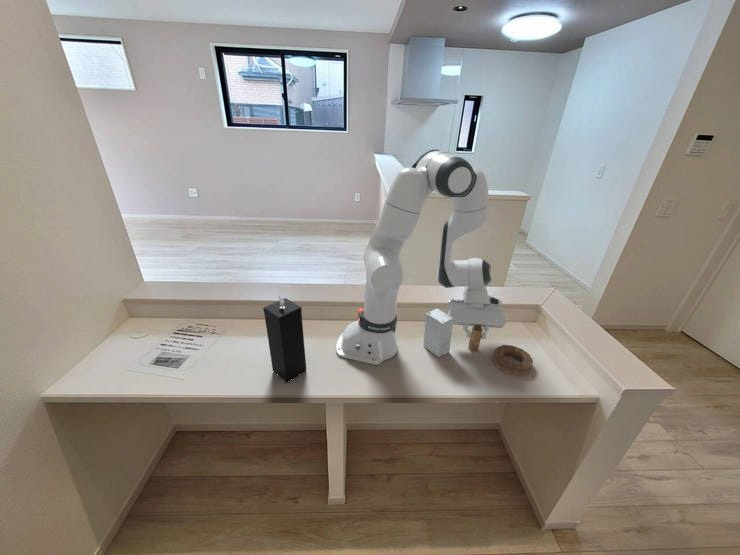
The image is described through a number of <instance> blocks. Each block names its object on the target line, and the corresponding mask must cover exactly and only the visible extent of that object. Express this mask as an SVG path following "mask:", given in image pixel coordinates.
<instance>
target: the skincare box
mask: <svg viewBox="0 0 740 555" xmlns="http://www.w3.org/2000/svg"><path fill="white" fill-rule="evenodd" d="M424 322H425V323H424V336H423V347H424V348H425V349H427V350H428V351H429V352H430V353H432V354H433V355H435V356H436V357H437V358H440V357H442V356H444V355H447V354H449V352H450V350H451V342H452V334H453V325H454V324H453V318H452V317H451V316H449V315H448V313H445V312H444V311H442V310H440V309H439V308H435V309H433V310H431V311H428V312H426V313H425V321H424Z"/></svg>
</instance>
